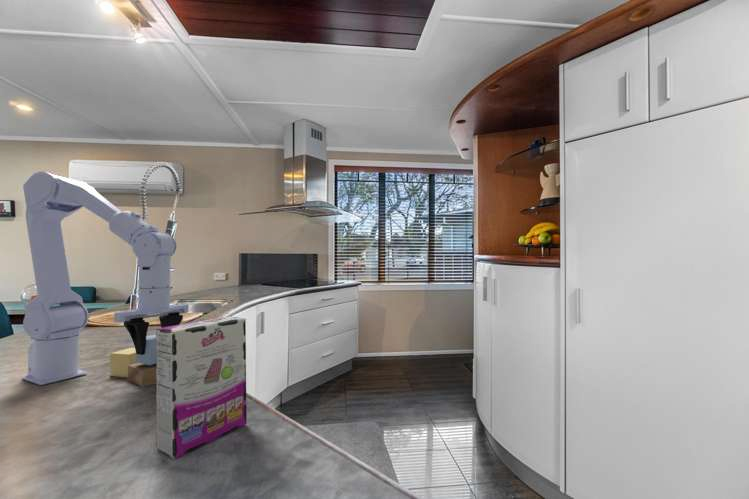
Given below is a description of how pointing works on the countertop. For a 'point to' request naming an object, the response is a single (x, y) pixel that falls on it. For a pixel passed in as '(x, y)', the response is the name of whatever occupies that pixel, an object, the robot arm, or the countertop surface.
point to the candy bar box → (200, 383)
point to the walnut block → (142, 374)
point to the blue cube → (148, 351)
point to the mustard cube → (122, 362)
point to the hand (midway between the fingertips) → (153, 350)
